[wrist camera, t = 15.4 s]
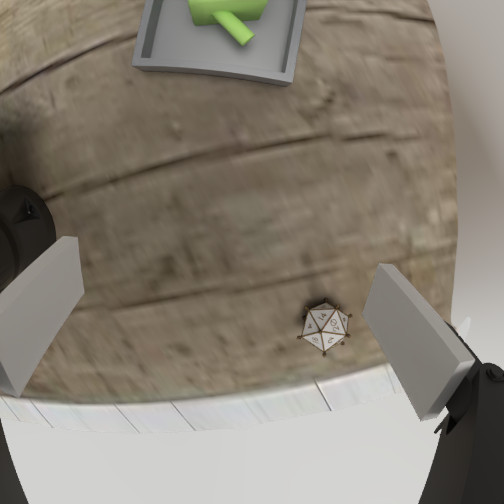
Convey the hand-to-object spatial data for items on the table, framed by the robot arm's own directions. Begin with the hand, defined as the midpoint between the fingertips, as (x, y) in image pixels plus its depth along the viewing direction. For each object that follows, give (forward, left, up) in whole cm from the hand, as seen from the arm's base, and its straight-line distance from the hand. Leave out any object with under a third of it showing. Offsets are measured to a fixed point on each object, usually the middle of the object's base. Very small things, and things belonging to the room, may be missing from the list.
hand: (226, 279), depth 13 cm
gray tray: (-4, +24, -31) cm, 39 cm away
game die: (+18, -21, -31) cm, 41 cm away
